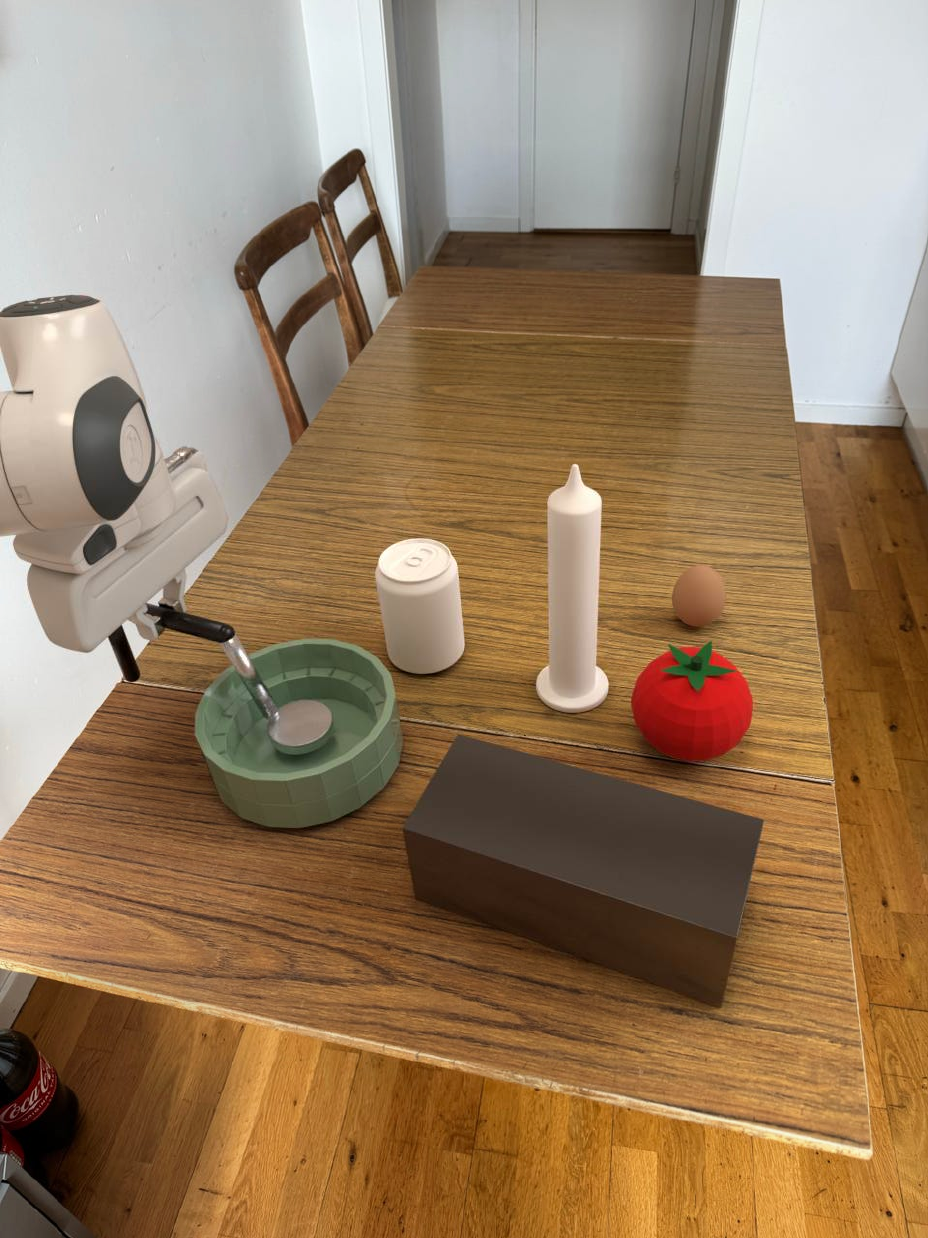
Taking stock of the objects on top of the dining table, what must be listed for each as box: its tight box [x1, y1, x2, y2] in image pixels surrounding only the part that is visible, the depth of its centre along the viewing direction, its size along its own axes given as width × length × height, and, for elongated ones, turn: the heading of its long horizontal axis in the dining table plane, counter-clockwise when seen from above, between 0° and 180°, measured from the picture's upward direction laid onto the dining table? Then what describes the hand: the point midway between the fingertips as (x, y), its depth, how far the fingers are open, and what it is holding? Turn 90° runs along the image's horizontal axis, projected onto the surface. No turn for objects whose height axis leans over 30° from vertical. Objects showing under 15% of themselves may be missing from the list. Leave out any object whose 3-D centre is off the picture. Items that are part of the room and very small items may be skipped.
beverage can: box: [374, 537, 466, 675], centre depth 90 cm, size 8×8×12 cm
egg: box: [671, 564, 727, 628], centre depth 92 cm, size 5×5×7 cm
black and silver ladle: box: [107, 602, 334, 755], centre depth 82 cm, size 24×6×11 cm, turn 66°
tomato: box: [630, 640, 754, 762], centre depth 78 cm, size 10×10×10 cm
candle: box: [535, 463, 610, 714], centre depth 80 cm, size 7×7×25 cm
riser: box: [401, 733, 765, 1009], centre depth 67 cm, size 10×24×9 cm, turn 66°
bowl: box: [194, 638, 404, 829], centre depth 81 cm, size 18×18×7 cm
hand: (164, 625), depth 82 cm, fingers closed on black and silver ladle
